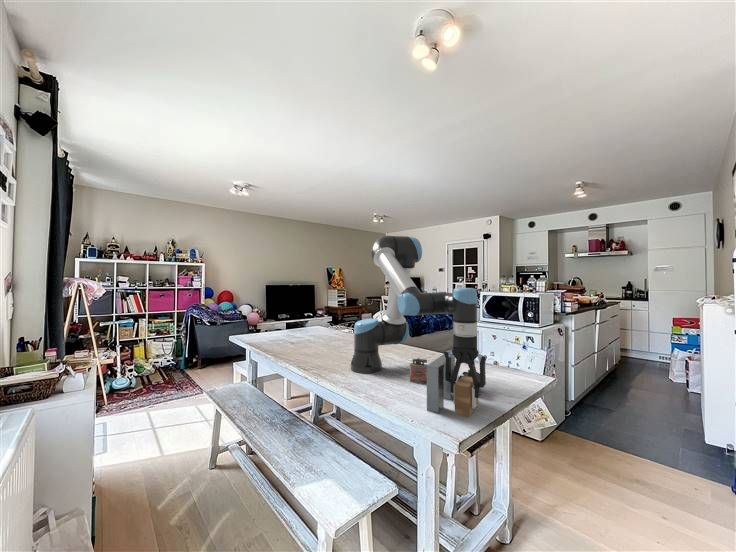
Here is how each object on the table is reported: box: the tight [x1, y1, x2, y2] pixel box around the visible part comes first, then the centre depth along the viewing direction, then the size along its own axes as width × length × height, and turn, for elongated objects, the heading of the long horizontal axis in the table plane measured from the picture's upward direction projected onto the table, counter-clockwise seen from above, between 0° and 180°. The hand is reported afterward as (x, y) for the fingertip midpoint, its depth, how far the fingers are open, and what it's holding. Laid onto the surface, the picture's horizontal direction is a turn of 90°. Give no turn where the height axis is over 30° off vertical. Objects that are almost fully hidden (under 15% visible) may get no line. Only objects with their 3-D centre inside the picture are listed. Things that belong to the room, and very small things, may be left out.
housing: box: [426, 353, 456, 414], centre depth 110 cm, size 4×18×15 cm, turn 148°
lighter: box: [409, 357, 428, 385], centre depth 131 cm, size 8×3×10 cm, turn 68°
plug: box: [453, 369, 480, 418], centre depth 105 cm, size 13×4×12 cm, turn 148°
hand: (464, 404), depth 103 cm, fingers open, 5 cm apart
